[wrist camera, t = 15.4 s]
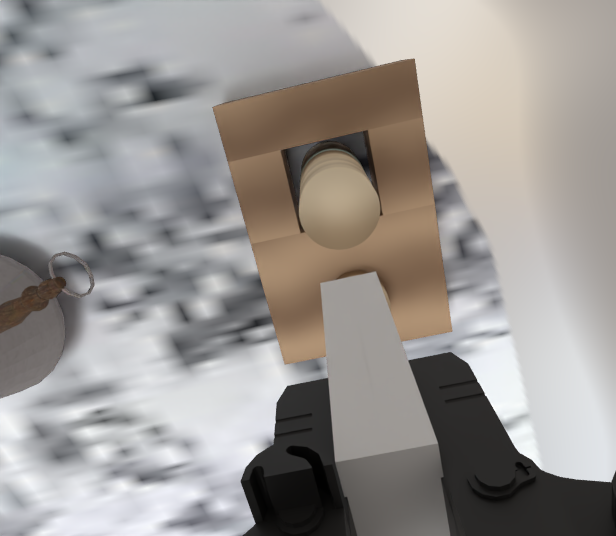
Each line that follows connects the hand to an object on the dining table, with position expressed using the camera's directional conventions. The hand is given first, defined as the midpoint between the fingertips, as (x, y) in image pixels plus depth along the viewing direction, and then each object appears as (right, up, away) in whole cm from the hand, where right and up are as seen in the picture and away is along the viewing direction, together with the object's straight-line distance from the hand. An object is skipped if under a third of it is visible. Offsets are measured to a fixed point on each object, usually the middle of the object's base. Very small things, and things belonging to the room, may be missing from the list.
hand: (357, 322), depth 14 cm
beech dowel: (0, +8, +21) cm, 23 cm away
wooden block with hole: (+1, +5, +22) cm, 23 cm away
